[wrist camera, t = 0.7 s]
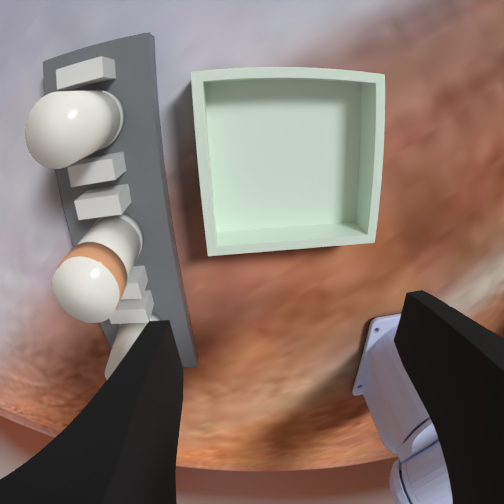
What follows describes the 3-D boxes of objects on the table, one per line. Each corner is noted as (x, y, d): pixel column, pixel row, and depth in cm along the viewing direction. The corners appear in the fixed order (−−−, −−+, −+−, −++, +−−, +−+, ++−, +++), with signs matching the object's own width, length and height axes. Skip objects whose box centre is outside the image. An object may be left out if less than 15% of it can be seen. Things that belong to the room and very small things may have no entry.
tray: (358, 225, 19) (374, 242, 17) (209, 236, 18) (208, 256, 16) (364, 75, 14) (384, 74, 12) (195, 75, 14) (190, 71, 12)
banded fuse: (149, 259, 17) (126, 323, 12) (99, 263, 17) (65, 324, 12) (138, 207, 16) (106, 258, 11) (87, 213, 16) (41, 263, 11)
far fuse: (169, 343, 20) (162, 396, 16) (128, 345, 20) (114, 395, 16) (160, 308, 19) (148, 361, 15) (115, 310, 19) (96, 361, 15)
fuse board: (197, 355, 22) (196, 386, 20) (122, 357, 22) (115, 386, 20) (154, 36, 13) (140, 25, 10) (53, 62, 12) (25, 60, 10)
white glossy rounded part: (128, 143, 14) (95, 161, 10) (75, 153, 14) (31, 175, 10) (122, 84, 13) (86, 81, 9) (68, 97, 12) (20, 103, 9)
